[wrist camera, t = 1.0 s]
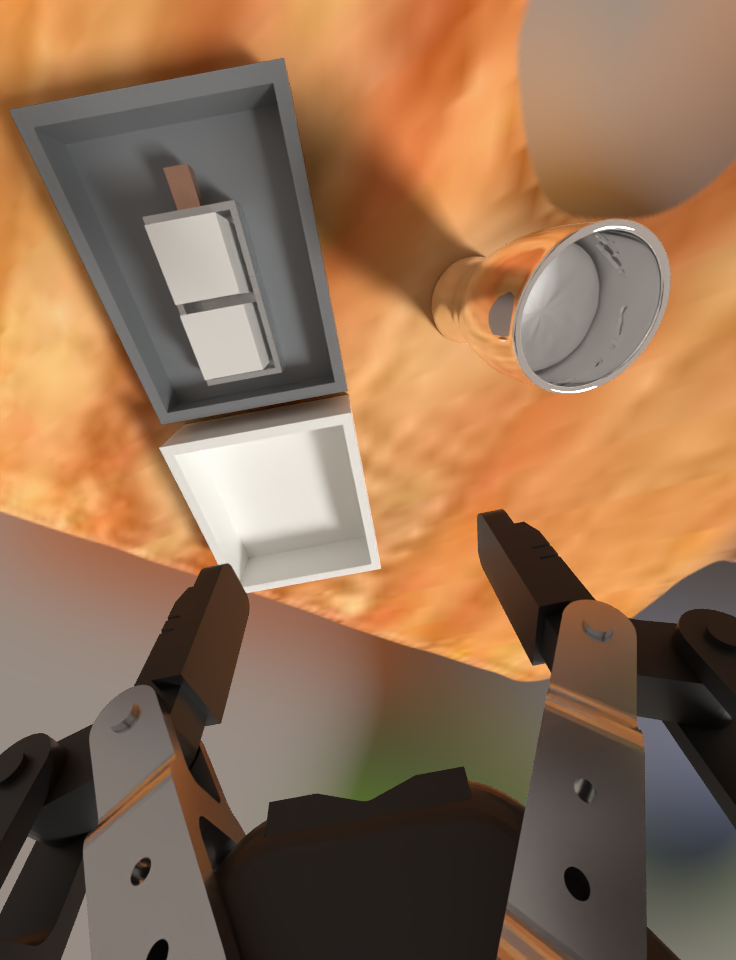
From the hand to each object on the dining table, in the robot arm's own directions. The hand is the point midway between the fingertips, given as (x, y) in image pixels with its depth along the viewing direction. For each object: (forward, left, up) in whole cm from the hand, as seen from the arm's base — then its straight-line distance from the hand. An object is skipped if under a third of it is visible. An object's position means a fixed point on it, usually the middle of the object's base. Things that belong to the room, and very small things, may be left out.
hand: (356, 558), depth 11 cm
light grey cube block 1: (-10, -7, -20) cm, 24 cm away
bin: (+9, -7, -21) cm, 24 cm away
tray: (-9, -7, -21) cm, 24 cm away
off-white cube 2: (-6, -7, -20) cm, 22 cm away
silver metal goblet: (-5, +11, -22) cm, 25 cm away
